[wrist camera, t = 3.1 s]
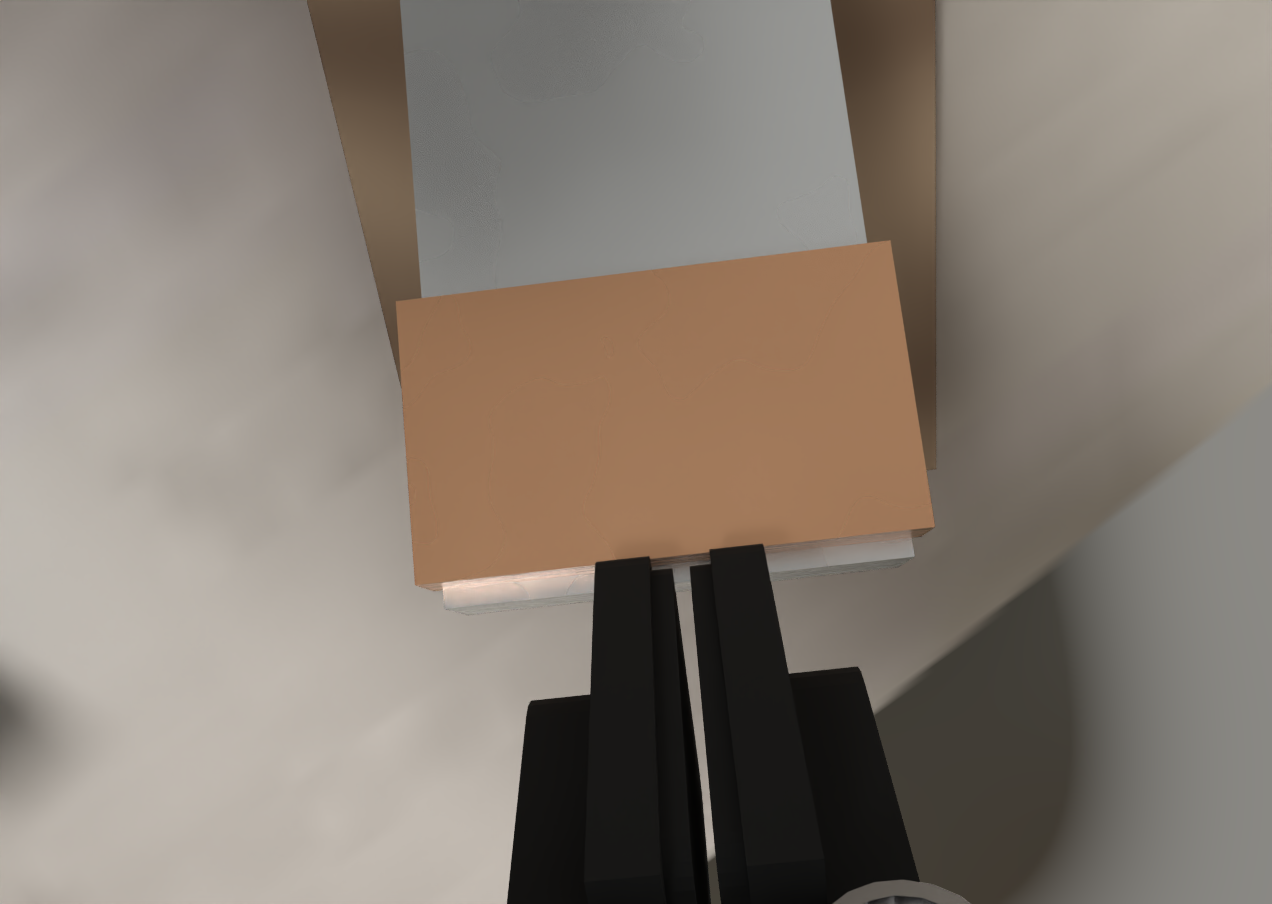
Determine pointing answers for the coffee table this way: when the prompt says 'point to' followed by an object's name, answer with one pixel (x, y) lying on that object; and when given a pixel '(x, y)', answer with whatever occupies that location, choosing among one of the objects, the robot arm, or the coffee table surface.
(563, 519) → the latch lever
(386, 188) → the latch base
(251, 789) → the coffee table surface
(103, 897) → the coffee table surface
